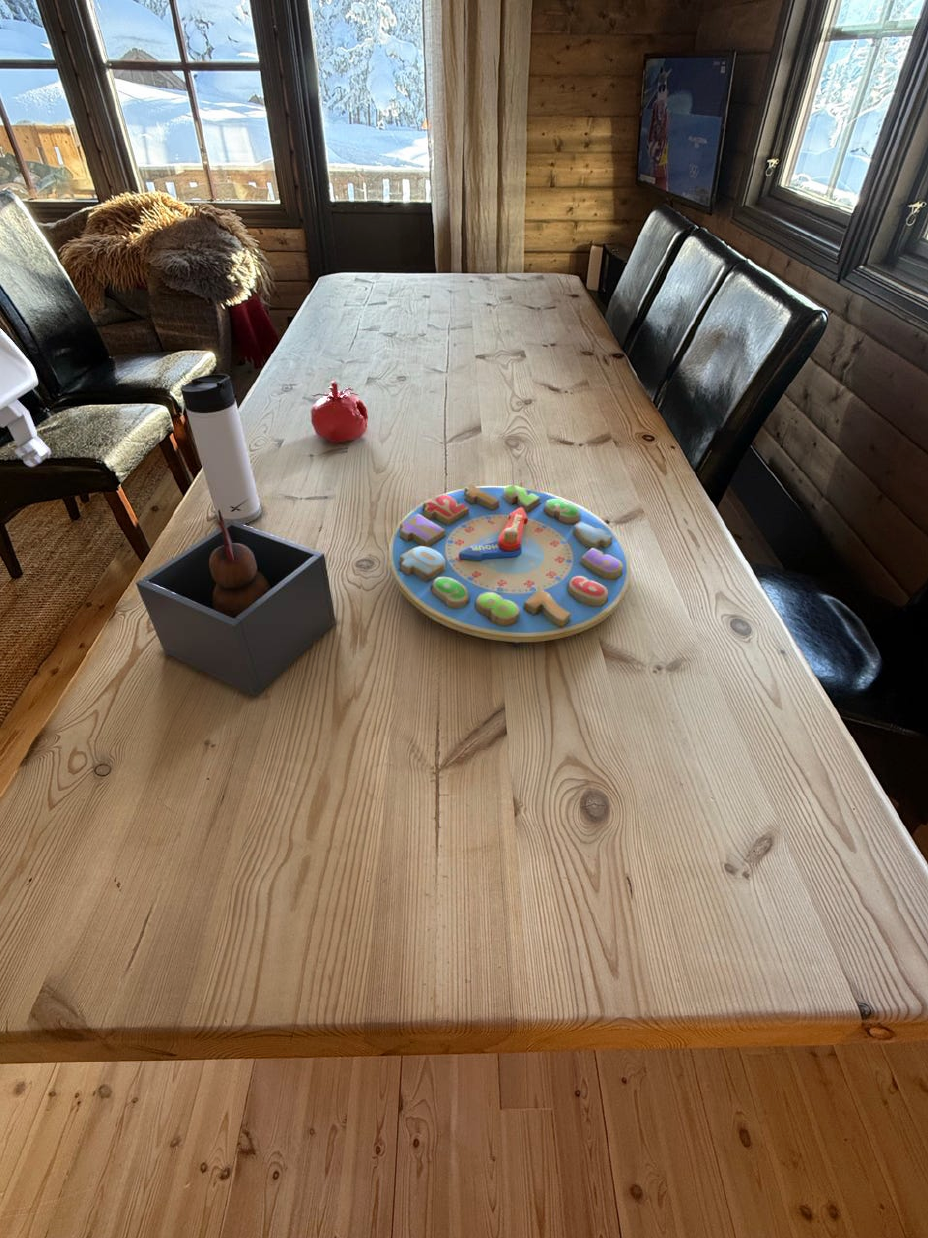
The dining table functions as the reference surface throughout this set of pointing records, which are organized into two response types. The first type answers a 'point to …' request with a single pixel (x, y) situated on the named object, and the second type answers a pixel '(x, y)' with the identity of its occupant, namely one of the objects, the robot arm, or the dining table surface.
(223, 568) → the wooden figurine
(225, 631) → the tote
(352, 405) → the pomegranate
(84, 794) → the dining table surface
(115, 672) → the dining table surface
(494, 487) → the shape sorting clock
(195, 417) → the travel mug
